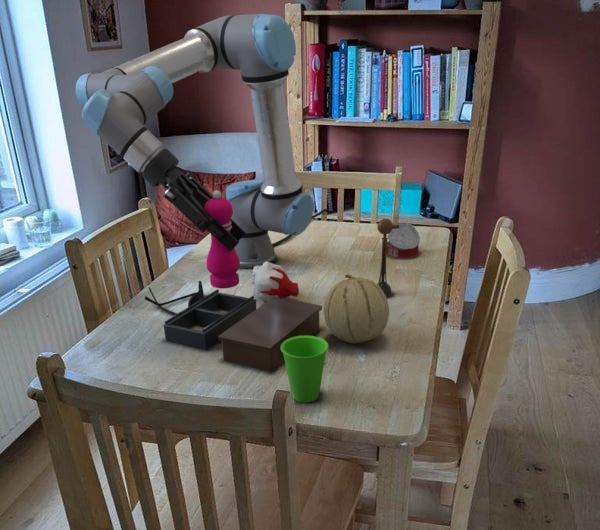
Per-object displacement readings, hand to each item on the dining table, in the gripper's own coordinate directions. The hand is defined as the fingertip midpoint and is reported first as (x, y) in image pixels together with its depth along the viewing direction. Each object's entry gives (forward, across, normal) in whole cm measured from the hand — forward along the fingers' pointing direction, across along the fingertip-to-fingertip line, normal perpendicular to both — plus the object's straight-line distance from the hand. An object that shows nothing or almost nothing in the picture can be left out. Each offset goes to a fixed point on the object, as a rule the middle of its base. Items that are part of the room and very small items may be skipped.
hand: (238, 242), depth 135 cm
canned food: (+42, -64, +8) cm, 77 cm away
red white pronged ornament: (+18, -25, -15) cm, 34 cm away
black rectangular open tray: (+10, -7, -23) cm, 26 cm away
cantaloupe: (+34, -3, +1) cm, 35 cm away
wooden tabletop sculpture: (+38, -31, +5) cm, 49 cm away
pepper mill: (+4, 0, -9) cm, 10 cm away
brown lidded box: (+21, +1, -12) cm, 24 cm away
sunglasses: (+1, -18, -33) cm, 37 cm away
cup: (+29, +23, -4) cm, 37 cm away
